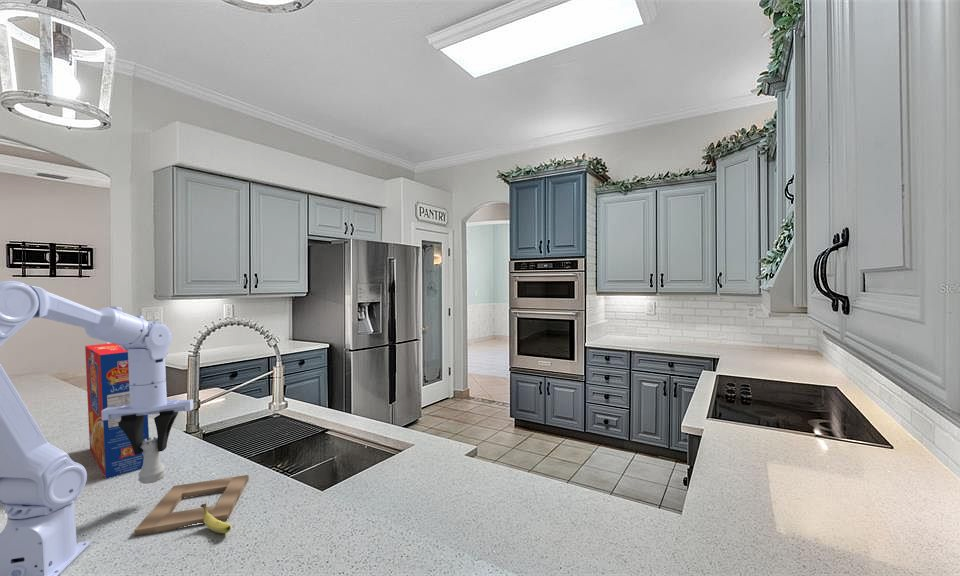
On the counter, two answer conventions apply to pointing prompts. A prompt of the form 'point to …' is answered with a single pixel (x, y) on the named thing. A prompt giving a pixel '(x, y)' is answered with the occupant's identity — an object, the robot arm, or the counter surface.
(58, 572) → the robot arm
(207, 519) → the banana
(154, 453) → the rook chess piece
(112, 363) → the blue and red box
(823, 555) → the counter surface
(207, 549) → the counter surface
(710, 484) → the counter surface
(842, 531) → the counter surface
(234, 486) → the walnut socket board
